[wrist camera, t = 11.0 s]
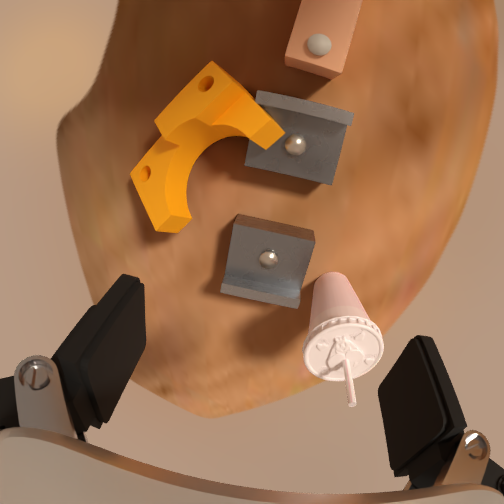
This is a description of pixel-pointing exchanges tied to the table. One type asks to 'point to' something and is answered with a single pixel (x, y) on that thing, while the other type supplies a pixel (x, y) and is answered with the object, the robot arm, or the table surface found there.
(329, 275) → the pink drink cup
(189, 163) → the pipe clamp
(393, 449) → the robot arm
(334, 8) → the peach two-stud bar
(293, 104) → the book ends
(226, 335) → the table surface
